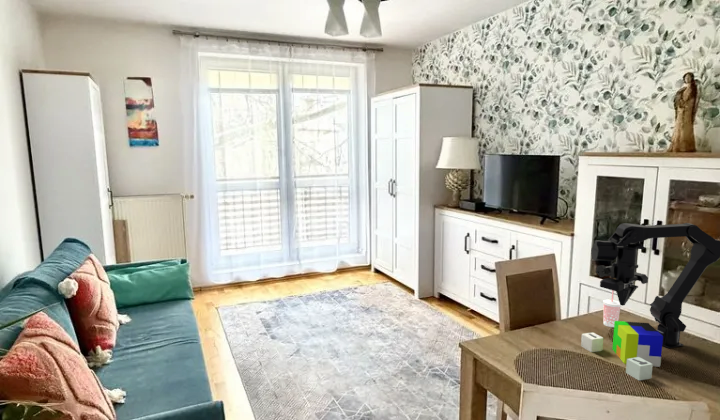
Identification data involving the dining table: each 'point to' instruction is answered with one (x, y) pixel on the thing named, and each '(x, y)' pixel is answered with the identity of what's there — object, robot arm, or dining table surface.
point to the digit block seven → (639, 368)
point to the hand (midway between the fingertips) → (622, 305)
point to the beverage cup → (611, 311)
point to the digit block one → (592, 342)
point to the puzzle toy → (637, 342)
